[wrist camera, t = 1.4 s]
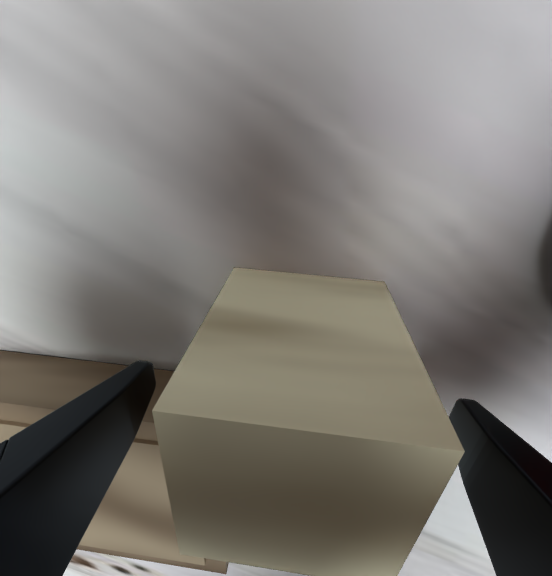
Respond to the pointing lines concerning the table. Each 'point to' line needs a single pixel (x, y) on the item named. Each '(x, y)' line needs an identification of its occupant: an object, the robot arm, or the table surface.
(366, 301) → the oak block
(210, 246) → the table surface
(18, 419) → the base board
